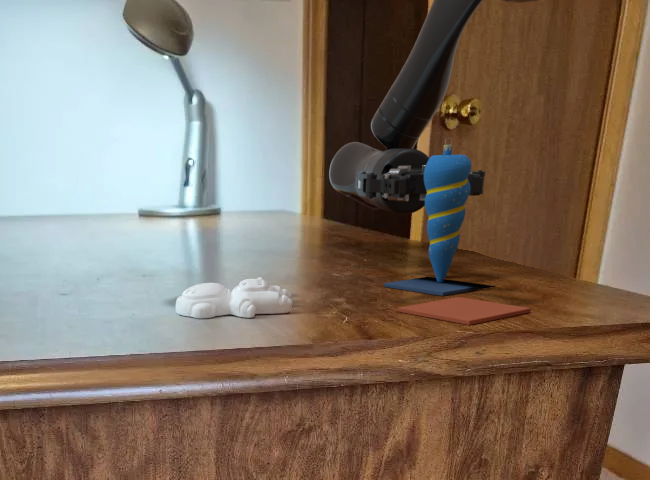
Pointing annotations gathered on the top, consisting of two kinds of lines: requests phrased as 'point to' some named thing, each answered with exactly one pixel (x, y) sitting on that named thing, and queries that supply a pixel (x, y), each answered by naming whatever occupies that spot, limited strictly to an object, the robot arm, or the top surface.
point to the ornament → (445, 206)
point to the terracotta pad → (464, 310)
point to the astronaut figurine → (234, 300)
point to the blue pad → (436, 286)
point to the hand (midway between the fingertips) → (440, 186)
